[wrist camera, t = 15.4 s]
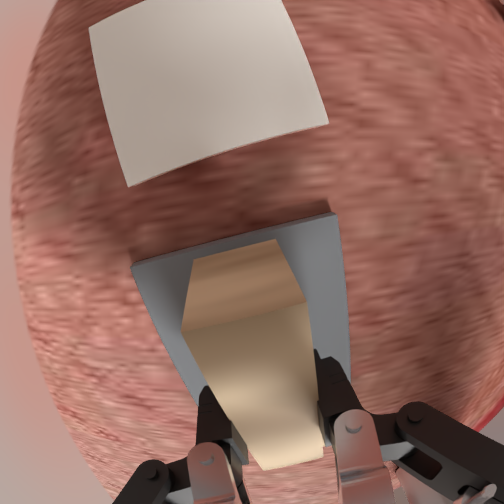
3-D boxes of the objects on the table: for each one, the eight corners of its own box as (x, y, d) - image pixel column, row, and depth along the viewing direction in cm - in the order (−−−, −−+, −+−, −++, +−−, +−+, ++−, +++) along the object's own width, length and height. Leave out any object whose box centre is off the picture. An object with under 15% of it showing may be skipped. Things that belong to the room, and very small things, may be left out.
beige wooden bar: (325, 439, 17) (338, 481, 13) (260, 454, 17) (267, 497, 13) (302, 232, 10) (347, 289, 6) (168, 266, 10) (143, 338, 6)
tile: (329, 123, 9) (265, -29, 7) (127, 187, 10) (88, 27, 7) (316, 127, 11) (261, -12, 8) (140, 183, 11) (101, 39, 8)
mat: (347, 410, 16) (350, 416, 16) (223, 439, 16) (223, 446, 16) (331, 211, 12) (337, 214, 11) (133, 262, 12) (129, 267, 11)
